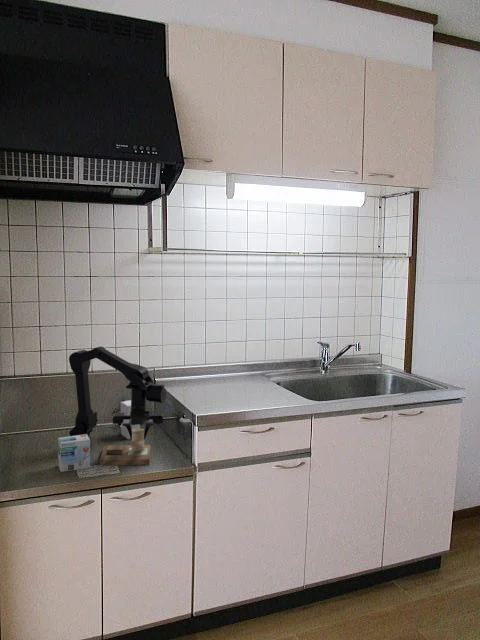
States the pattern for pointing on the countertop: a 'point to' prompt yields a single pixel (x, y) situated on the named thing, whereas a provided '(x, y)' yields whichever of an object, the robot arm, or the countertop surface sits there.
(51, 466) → the countertop surface
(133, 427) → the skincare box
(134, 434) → the maple block
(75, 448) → the light bulb box
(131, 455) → the pocket board
